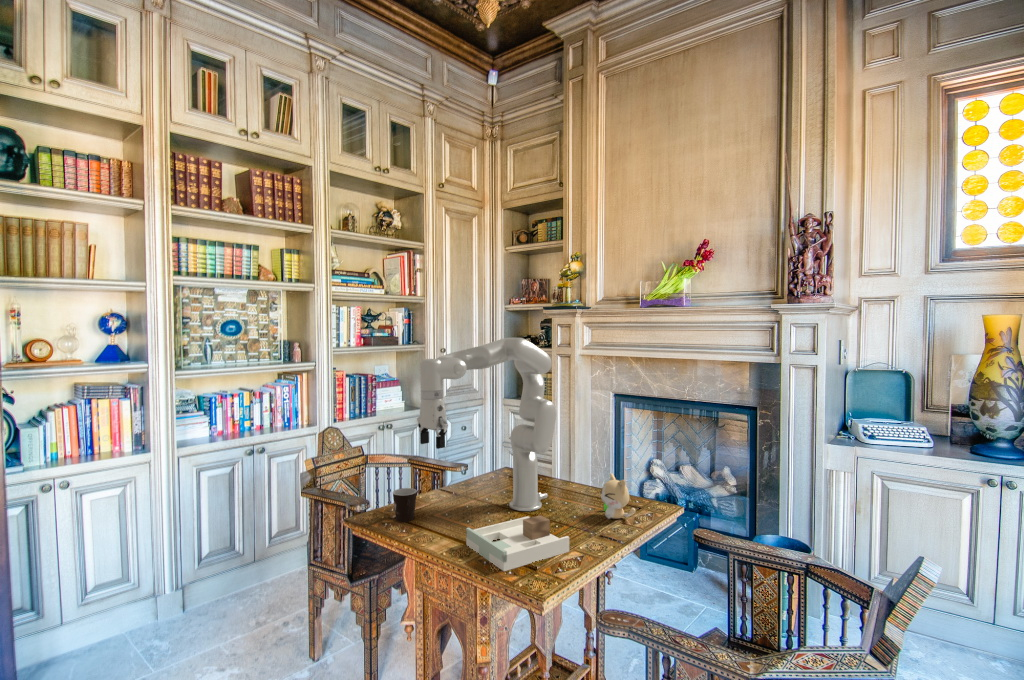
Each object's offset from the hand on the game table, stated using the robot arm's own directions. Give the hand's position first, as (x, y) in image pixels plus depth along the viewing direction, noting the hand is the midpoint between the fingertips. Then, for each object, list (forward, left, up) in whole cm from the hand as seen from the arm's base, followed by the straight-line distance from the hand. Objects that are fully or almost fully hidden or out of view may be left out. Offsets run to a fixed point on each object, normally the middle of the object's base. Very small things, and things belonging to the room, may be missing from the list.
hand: (432, 445), depth 178 cm
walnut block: (-23, +28, -27) cm, 45 cm away
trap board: (-16, +28, -29) cm, 43 cm away
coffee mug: (+4, -15, -30) cm, 34 cm away
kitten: (-61, +25, -30) cm, 72 cm away
